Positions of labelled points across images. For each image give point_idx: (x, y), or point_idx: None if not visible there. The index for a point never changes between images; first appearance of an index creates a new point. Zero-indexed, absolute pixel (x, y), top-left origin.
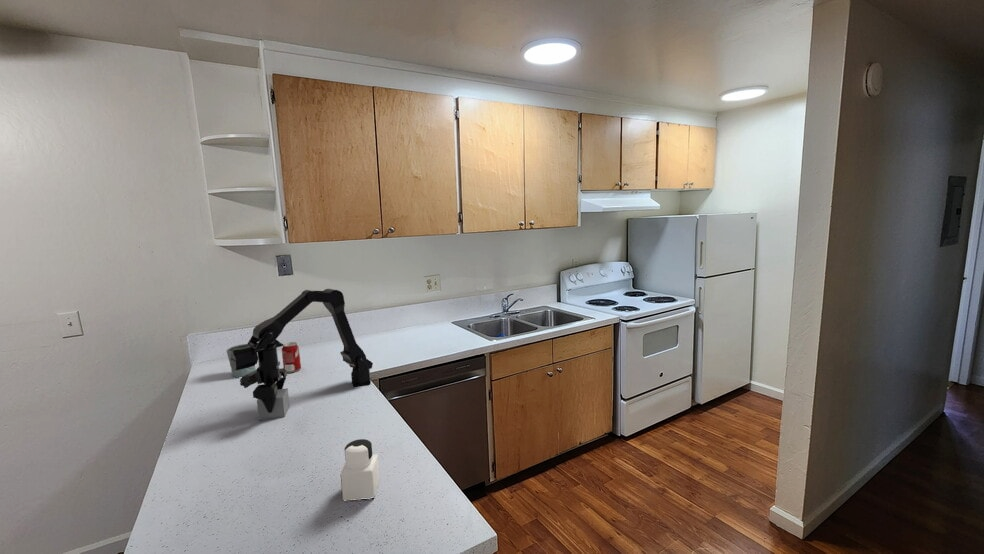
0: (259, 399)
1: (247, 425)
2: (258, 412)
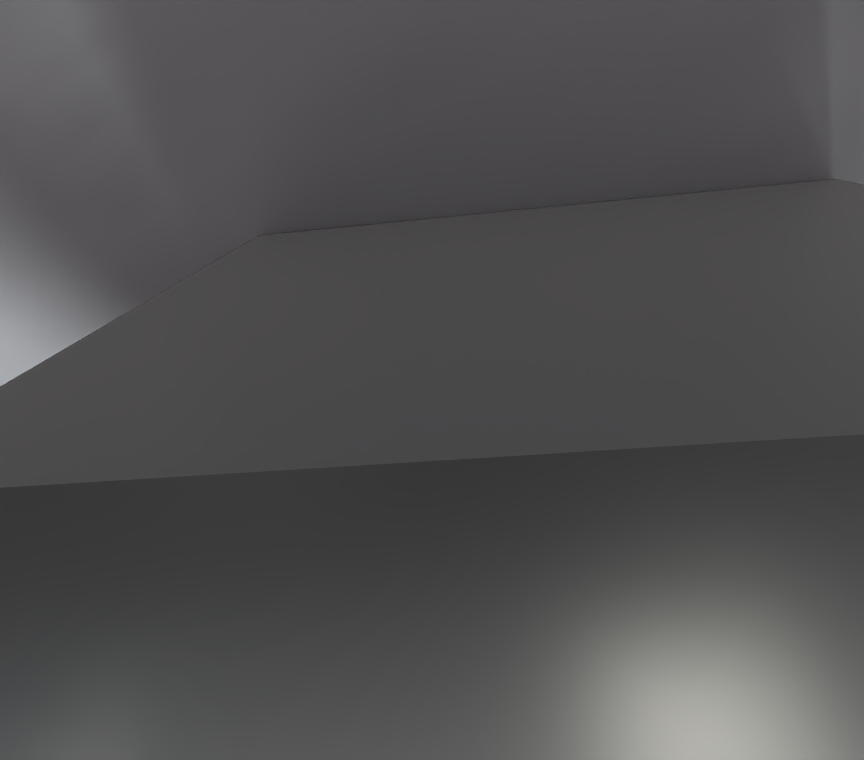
0: (8, 596)
1: (29, 39)
2: (177, 291)
